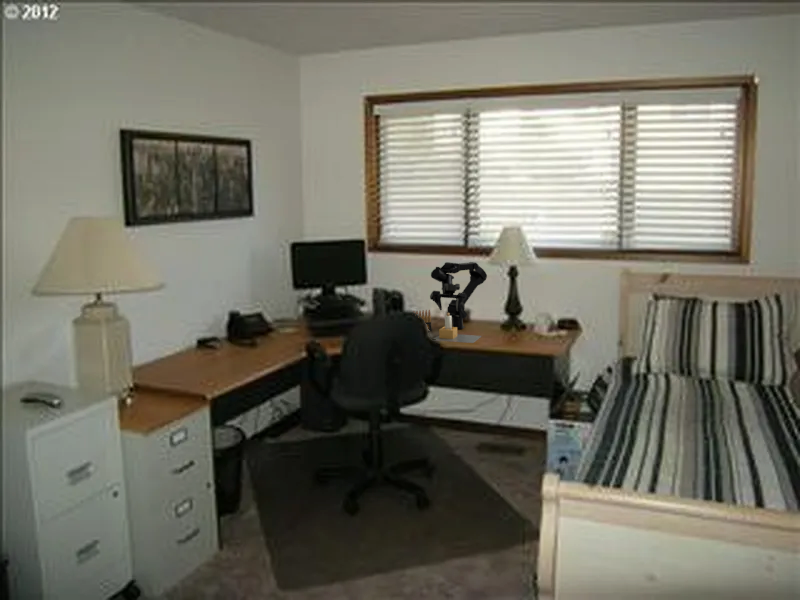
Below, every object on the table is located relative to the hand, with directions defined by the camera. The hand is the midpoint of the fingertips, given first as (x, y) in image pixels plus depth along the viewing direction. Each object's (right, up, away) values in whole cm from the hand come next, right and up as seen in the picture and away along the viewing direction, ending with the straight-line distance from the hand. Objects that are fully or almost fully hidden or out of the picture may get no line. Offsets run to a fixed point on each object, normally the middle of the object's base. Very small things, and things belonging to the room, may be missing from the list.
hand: (449, 310), depth 369 cm
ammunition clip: (-14, -12, +12) cm, 22 cm away
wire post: (-1, -13, -6) cm, 15 cm away
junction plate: (+3, -15, -9) cm, 18 cm away
